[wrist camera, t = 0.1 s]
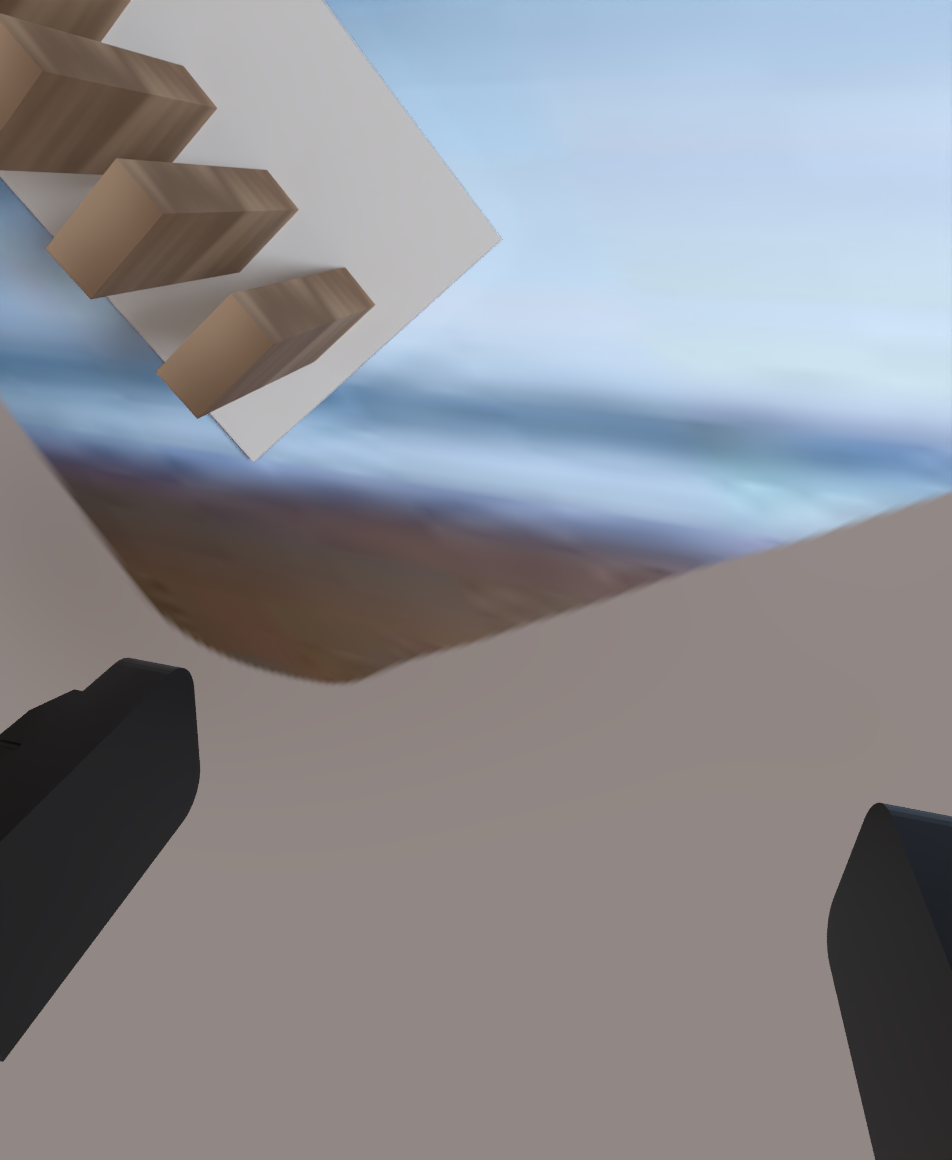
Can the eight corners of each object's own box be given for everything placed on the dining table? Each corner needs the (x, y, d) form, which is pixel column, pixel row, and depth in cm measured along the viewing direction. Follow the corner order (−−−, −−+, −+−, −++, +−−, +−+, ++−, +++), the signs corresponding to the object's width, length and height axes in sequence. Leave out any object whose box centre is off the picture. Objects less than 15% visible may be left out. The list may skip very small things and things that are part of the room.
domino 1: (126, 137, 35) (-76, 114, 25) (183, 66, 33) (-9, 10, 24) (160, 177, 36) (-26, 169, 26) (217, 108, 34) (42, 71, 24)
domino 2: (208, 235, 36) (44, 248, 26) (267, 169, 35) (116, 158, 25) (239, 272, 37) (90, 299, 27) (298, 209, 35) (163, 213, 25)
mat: (-309, -182, 34) (-324, -188, 33) (-134, -613, 27) (-149, -628, 27) (258, 458, 41) (253, 462, 40) (502, 239, 34) (500, 239, 34)
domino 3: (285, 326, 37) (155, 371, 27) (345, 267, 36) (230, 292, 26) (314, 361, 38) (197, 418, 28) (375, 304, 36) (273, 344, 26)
